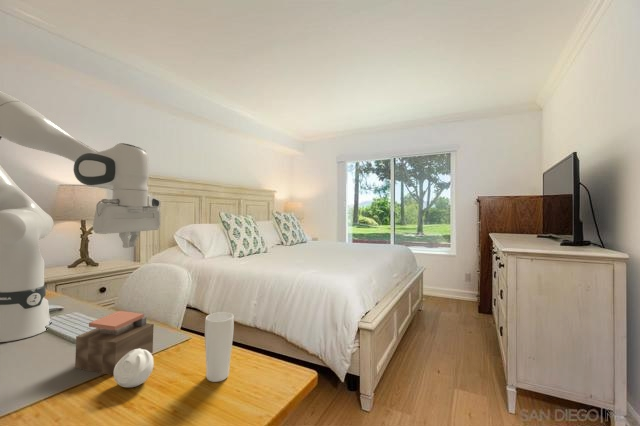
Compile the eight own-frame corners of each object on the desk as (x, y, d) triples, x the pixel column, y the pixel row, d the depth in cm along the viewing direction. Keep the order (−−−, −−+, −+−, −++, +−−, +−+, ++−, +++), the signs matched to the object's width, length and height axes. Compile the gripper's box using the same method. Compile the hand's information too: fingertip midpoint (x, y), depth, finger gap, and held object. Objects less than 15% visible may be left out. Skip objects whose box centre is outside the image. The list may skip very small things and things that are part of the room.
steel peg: (99, 359, 76) (100, 324, 76) (116, 350, 81) (117, 317, 81) (115, 362, 75) (116, 327, 75) (132, 352, 80) (133, 320, 80)
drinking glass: (204, 387, 67) (206, 323, 67) (201, 372, 73) (203, 313, 73) (234, 381, 71) (236, 319, 70) (229, 367, 77) (231, 310, 76)
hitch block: (75, 368, 73) (76, 328, 73) (117, 346, 85) (118, 312, 85) (114, 375, 71) (116, 334, 71) (152, 352, 83) (153, 317, 83)
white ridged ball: (105, 391, 65) (106, 357, 65) (131, 373, 72) (132, 342, 72) (137, 396, 63) (138, 361, 63) (161, 377, 71) (162, 345, 71)
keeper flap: (119, 314, 83) (119, 310, 83) (143, 317, 82) (143, 313, 82) (88, 326, 74) (88, 322, 74) (114, 330, 73) (115, 326, 73)
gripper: (107, 198, 75) (105, 252, 75) (165, 201, 95) (163, 244, 95) (87, 198, 76) (85, 251, 76) (148, 201, 96) (146, 243, 96)
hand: (129, 247), depth 85 cm, fingers closed
